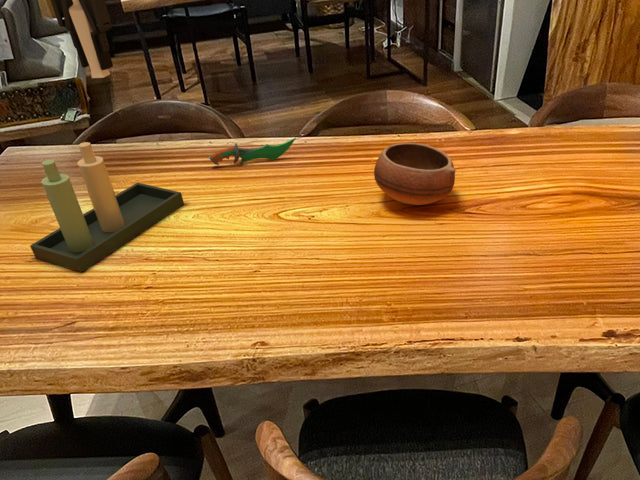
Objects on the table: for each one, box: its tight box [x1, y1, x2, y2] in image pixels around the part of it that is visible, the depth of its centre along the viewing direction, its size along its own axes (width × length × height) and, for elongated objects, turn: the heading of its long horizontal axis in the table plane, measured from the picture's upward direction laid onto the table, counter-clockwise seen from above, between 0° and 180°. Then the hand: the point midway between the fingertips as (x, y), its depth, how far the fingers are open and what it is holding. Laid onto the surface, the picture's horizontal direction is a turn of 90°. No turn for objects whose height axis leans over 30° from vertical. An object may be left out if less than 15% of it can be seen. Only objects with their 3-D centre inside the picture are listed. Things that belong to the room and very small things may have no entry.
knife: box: [208, 137, 297, 166], centre depth 139 cm, size 20×2×5 cm, turn 104°
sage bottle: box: [40, 159, 94, 253], centre depth 108 cm, size 4×4×16 cm
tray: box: [29, 182, 185, 273], centre depth 119 cm, size 12×28×3 cm, turn 153°
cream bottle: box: [76, 141, 125, 232], centre depth 114 cm, size 4×4×16 cm
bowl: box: [373, 142, 457, 206], centre depth 122 cm, size 16×16×10 cm
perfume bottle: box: [69, 0, 111, 79], centre depth 124 cm, size 5×4×15 cm
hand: (97, 66), depth 128 cm, fingers closed on perfume bottle, 5 cm apart
